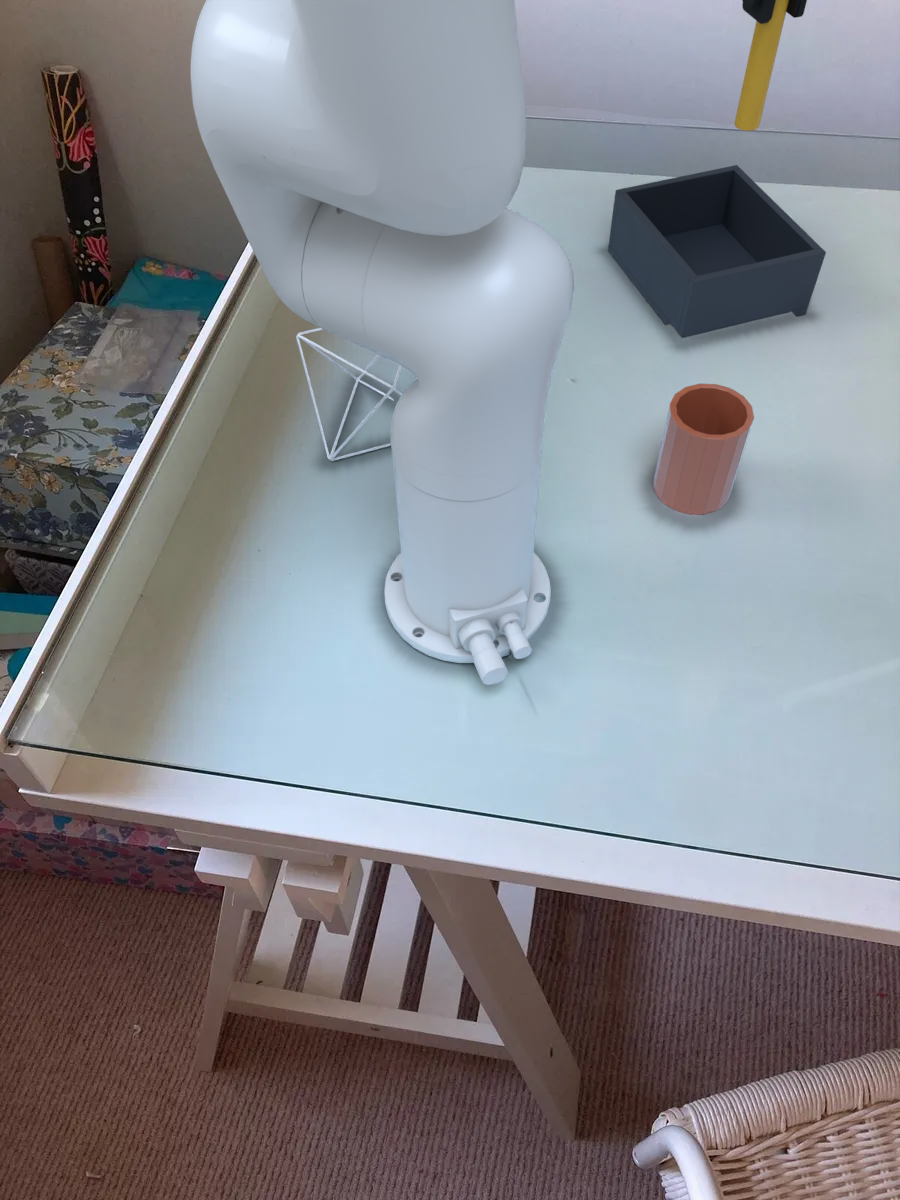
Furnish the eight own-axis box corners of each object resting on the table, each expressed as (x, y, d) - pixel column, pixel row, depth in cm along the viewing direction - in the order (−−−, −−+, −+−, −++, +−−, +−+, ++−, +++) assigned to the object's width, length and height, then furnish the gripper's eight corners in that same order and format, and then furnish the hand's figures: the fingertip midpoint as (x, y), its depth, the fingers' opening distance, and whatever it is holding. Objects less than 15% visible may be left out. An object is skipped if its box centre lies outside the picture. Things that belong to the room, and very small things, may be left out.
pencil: (763, 128, 78) (811, -72, 67) (741, 133, 78) (786, -67, 66) (751, 117, 79) (796, -81, 68) (729, 121, 79) (771, -77, 67)
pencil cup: (741, 509, 78) (769, 427, 71) (673, 529, 77) (694, 447, 70) (705, 459, 82) (728, 376, 75) (639, 477, 81) (656, 394, 74)
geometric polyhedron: (374, 491, 80) (366, 408, 73) (284, 433, 85) (268, 349, 77) (469, 413, 86) (470, 329, 79) (380, 363, 90) (373, 279, 83)
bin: (805, 314, 94) (826, 252, 88) (680, 344, 91) (693, 282, 86) (723, 225, 103) (737, 164, 98) (607, 250, 101) (615, 189, 95)
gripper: (760, -297, 53) (699, 52, 68) (1002, -326, 56) (893, 16, 71) (697, -324, 58) (652, 10, 72) (925, -350, 60) (837, -23, 75)
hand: (772, 11), depth 71 cm, fingers closed on pencil, 2 cm apart
